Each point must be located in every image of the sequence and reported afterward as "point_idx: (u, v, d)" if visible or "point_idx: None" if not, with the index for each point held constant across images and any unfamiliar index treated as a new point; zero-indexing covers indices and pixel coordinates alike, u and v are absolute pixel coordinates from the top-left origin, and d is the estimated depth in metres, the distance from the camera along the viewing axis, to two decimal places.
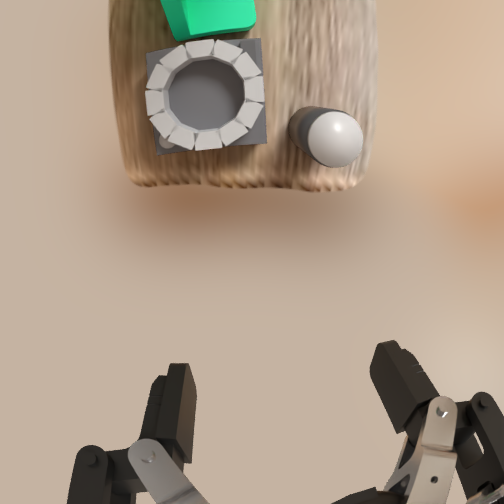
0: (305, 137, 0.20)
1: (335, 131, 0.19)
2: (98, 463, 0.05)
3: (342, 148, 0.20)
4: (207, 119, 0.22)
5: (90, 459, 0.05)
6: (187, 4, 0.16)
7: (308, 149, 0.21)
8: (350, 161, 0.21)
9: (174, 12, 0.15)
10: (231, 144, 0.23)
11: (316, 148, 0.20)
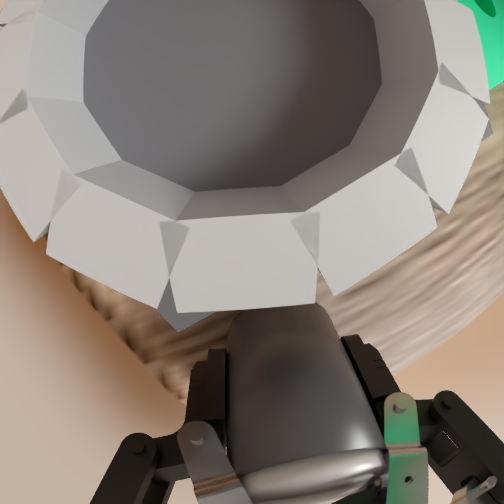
0: (272, 460, 0.05)
1: (334, 488, 0.05)
2: (146, 451, 0.06)
3: (298, 502, 0.06)
4: (133, 98, 0.05)
5: (137, 447, 0.06)
6: None
7: (243, 473, 0.05)
8: None
9: None
10: None
11: (261, 494, 0.05)
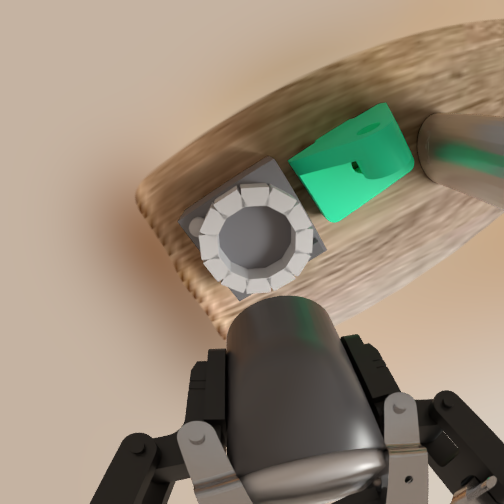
0: (272, 460, 0.05)
1: (334, 488, 0.05)
2: (146, 451, 0.06)
3: (298, 502, 0.06)
4: (233, 248, 0.25)
5: (137, 447, 0.06)
6: None
7: (243, 473, 0.05)
8: None
9: (320, 160, 0.21)
10: None
11: (261, 494, 0.05)
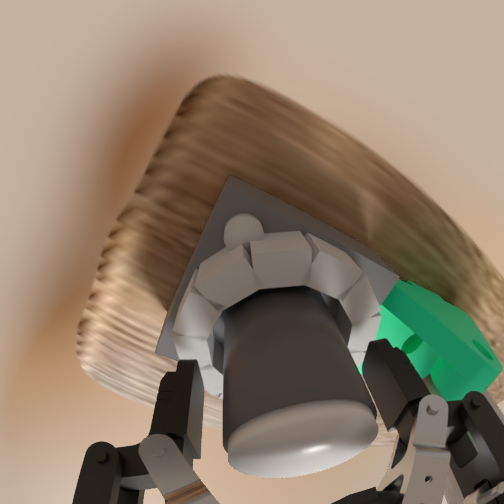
0: (267, 406, 0.06)
1: (325, 446, 0.06)
2: (108, 459, 0.05)
3: (291, 464, 0.07)
4: None
5: (100, 456, 0.05)
6: None
7: (239, 423, 0.06)
8: (272, 476, 0.07)
9: (426, 326, 0.13)
10: (172, 314, 0.13)
11: (256, 445, 0.06)
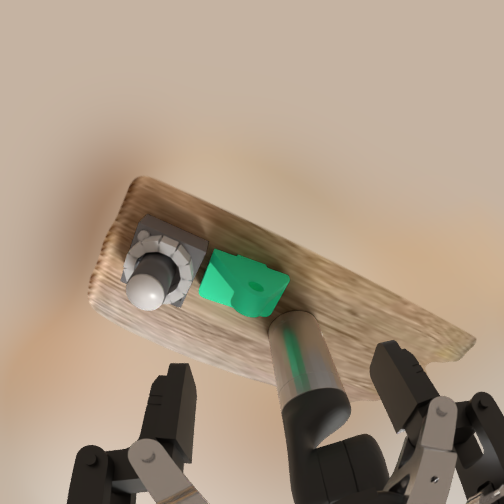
0: (133, 274, 0.30)
1: (147, 290, 0.30)
2: (98, 463, 0.05)
3: (142, 299, 0.30)
4: None
5: (90, 459, 0.05)
6: None
7: (128, 280, 0.30)
8: (140, 308, 0.31)
9: (223, 271, 0.36)
10: None
11: (130, 285, 0.29)
